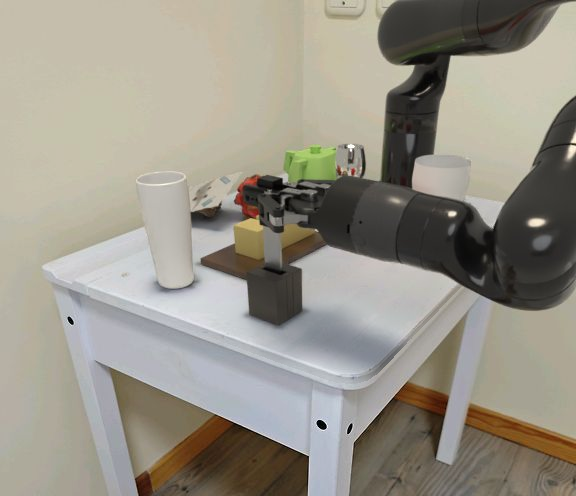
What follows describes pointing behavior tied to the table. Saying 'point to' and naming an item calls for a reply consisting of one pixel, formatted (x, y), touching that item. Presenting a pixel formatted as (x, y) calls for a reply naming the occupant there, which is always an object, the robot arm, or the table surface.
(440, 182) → the cup
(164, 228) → the white tall tumbler
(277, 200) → the knife
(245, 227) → the butter slice
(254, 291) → the knife block
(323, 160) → the teapot
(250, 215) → the dragon fruit
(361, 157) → the wineglass
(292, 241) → the butter block
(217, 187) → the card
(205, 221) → the table surface
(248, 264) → the butter board
